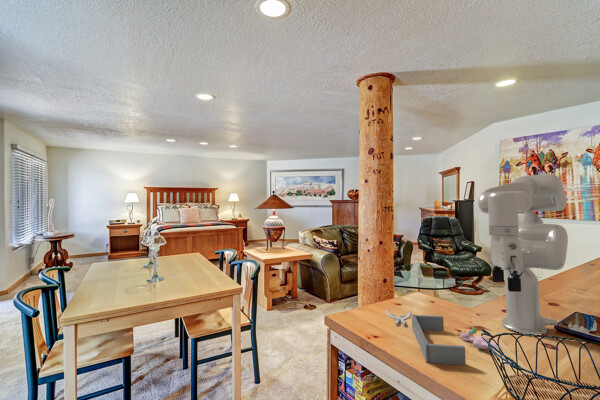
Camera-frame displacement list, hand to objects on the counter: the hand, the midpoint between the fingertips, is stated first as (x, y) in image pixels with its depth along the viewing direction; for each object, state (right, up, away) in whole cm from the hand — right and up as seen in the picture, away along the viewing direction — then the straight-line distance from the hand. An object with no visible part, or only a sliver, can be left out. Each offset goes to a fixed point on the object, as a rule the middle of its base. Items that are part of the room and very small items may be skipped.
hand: (506, 286), depth 87 cm
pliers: (-24, -21, +26) cm, 41 cm away
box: (-20, -20, +4) cm, 29 cm away
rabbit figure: (-7, -20, +2) cm, 22 cm away
